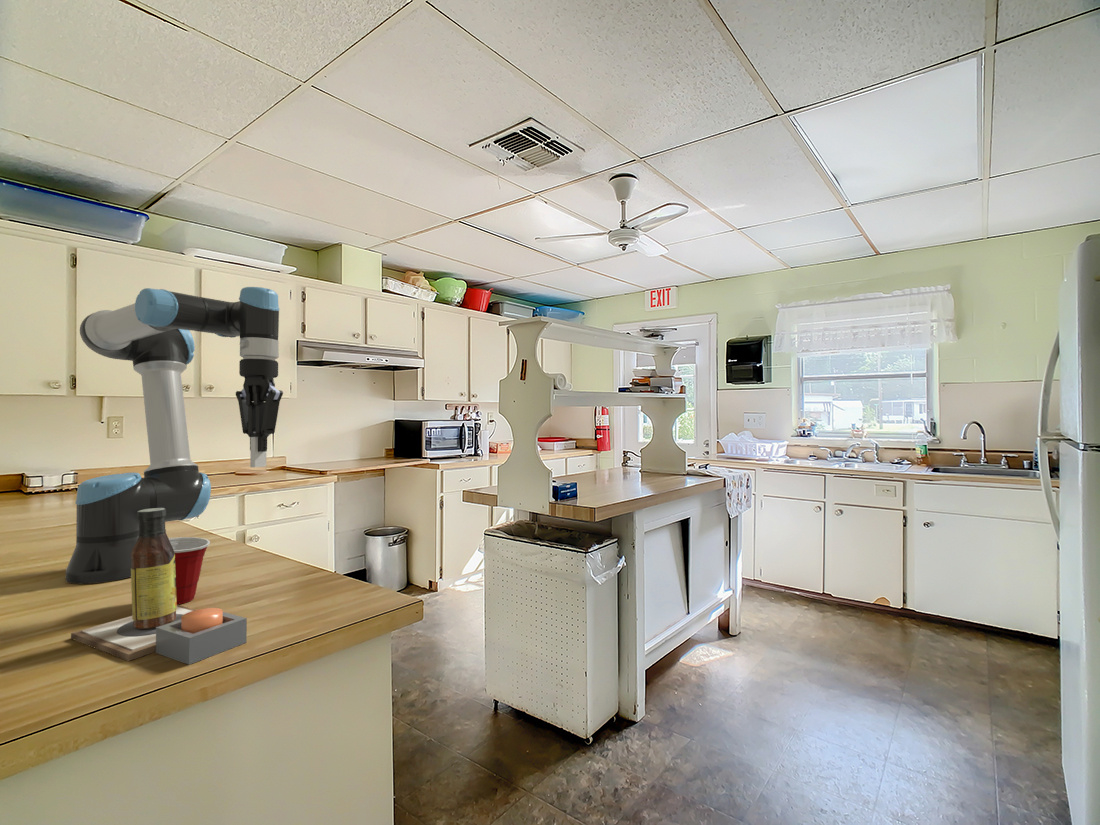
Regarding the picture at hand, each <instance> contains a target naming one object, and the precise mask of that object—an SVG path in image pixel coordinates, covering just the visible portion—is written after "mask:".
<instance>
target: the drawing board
mask: <svg viewBox="0 0 1100 825" xmlns="http://www.w3.org/2000/svg"><path fill="white" fill-rule="evenodd" d="M195 610H196V609H194V608H191V607H188V606H183V605H181V604H178V605H177V610H176V618H175V620H174V621H173V622H175V621H178V620H181V617H182V616H183V615H184V614H186V613H188V612H191V611H195ZM133 622H134V620H133V619H132V615H130V616H129V615H128V616H126V617H122V618H119V619H116V620H112V621H111V620H110V621H108V622H105V623H101V624H97V625H94V626H91V627H87V628H83V629H80V630H76V631H72V632H70V639H71V638H72V639H75V640H77V641H76V642H78V641H80V642H82V643H81V644H83V643H84V645H85V644H87V645H86V646H88V645H90V646H89V647H91V646H92V647H91V648H93V647H95V648H94V649H96V648H97V649H96V650H98V649H100V650H99V651H101V650H102V652H104V651H105V652H104V653H106V652H108V653H107V654H109V653H110V655H111V654H113V655H112V656H114V655H115V656H114V657H116V658H119V659H122V660H125V661H128V662H130V661H132V660H135V659H139V658H141V657H144V656H147V655H149V654H153V653H156V628H153V629H137V628H135V627H134V625H133ZM72 639H71V640H72ZM75 640H74V641H75ZM80 642H79V643H80Z"/></svg>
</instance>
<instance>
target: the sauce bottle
mask: <svg viewBox="0 0 1100 825" xmlns="http://www.w3.org/2000/svg"><path fill="white" fill-rule="evenodd" d="M165 517H166V509H165V508H151V509H144V510H140V511H137V519H138V521H139V533H138V535H139V538H138V540H137V543H136V544H135V546H134V547H133V549H132V552H131V565H132V567H131V577H130V580H131V582H130V583H131V584H130V585H131V586H130V587H131V610H132V611H131V614H132V615H131V616H132V619H133V620H134V622H133V625H134V627H135V628H137V629H153V628H156V627H159V626H162V625H165V624H168V623H172V622H173V621H174V620H175V618H176V610H177V600H176V569H175V552H174V550H173V547H172V545H171V543H170V541H169V539H168V538H169V537H168V534H167V530H166V522H165Z"/></svg>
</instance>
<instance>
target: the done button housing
mask: <svg viewBox="0 0 1100 825" xmlns="http://www.w3.org/2000/svg"><path fill="white" fill-rule="evenodd" d="M247 620H248V619H247V617H244V616H240V615H237V614H232V613H229V612H225V611H223V624H220V625H217V626H214V627H211V628H208V629H205V630H203V631H200V632H197V633H194V634H192V633H189V632H186V631H183V630H181V620H178V621H175V622H172V623H168V624H165V625H162V626H159V627H156V652H155V654H158V655H161V656H163V657H165V658H166V657H167V658H169V659H172V660H175V661H178V662H180V663H184V664H185V665H192V664H194V663H197V662H200V661H203V660H205V659H208V658H210V657H213V656H215V655H218V654H221V653H224V652H226V651H228V650H231V649H234V648H236V647H238V646H242V645H244V644H246V643H247V641H248V640H247V630H248V629H247V628H248V627H247V622H248V621H247Z"/></svg>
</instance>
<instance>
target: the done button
mask: <svg viewBox="0 0 1100 825" xmlns="http://www.w3.org/2000/svg"><path fill="white" fill-rule="evenodd" d="M223 612H224V610H223V609H222V608H218V607H207V608H200V609H195V611H191V612H188V613H186V614H184V615H183V616H182V617H181V630H183V631H186V632H189V633H192V634H194V633H197V632H200V631H203V630H205V629H208V628H211V627H214V626H217V625H220V624H223Z"/></svg>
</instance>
